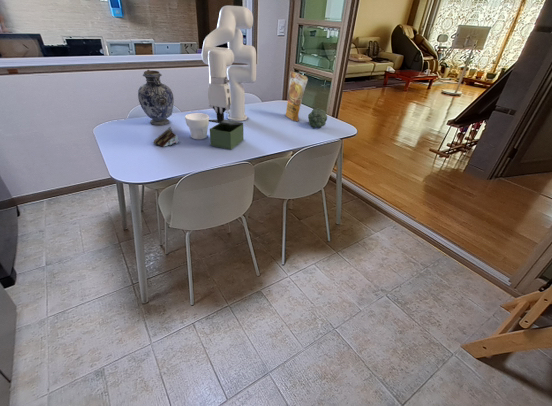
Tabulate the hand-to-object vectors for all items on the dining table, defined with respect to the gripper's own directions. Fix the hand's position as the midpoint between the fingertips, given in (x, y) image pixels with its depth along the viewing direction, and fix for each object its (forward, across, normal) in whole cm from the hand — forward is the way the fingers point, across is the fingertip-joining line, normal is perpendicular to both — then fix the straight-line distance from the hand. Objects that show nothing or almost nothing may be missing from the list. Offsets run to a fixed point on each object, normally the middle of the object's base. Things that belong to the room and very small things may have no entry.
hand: (220, 120), depth 139 cm
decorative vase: (+13, +50, -16) cm, 54 cm away
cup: (+14, +18, -7) cm, 23 cm away
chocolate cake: (+14, +26, +9) cm, 30 cm away
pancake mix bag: (+13, -18, -66) cm, 69 cm away
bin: (+13, 0, -6) cm, 15 cm away
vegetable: (+13, -36, -56) cm, 68 cm away
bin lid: (+3, 0, -6) cm, 7 cm away
